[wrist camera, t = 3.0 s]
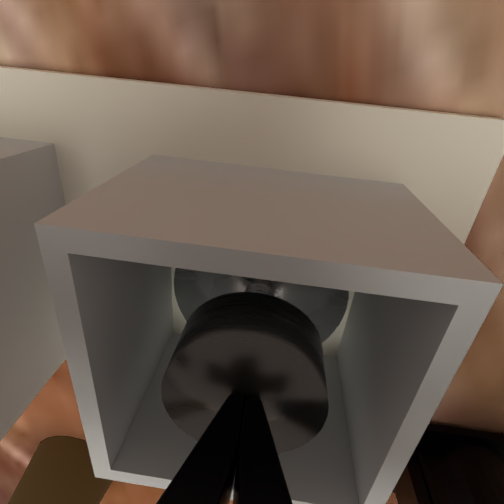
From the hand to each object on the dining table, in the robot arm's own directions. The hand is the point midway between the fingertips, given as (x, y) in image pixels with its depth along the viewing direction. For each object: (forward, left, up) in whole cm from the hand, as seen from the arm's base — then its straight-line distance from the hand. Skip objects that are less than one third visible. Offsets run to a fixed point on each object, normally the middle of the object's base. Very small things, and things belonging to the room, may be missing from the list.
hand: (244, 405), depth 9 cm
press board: (+7, 0, -7) cm, 10 cm away
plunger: (0, 0, -6) cm, 6 cm away
